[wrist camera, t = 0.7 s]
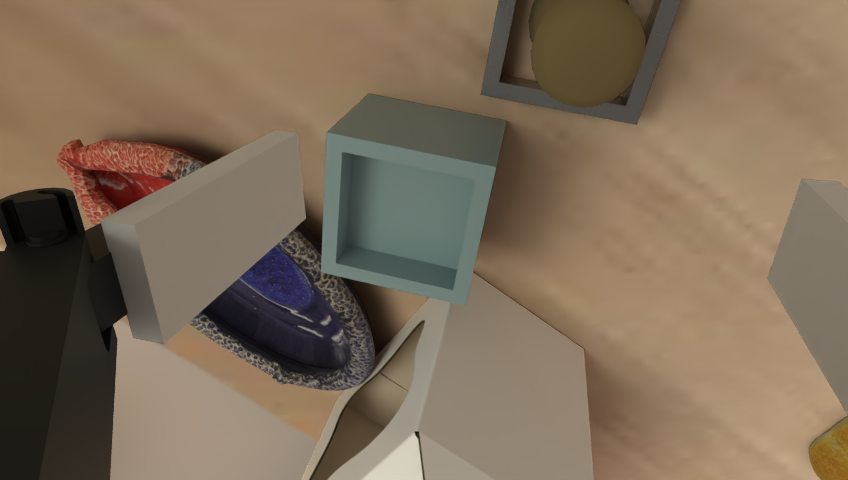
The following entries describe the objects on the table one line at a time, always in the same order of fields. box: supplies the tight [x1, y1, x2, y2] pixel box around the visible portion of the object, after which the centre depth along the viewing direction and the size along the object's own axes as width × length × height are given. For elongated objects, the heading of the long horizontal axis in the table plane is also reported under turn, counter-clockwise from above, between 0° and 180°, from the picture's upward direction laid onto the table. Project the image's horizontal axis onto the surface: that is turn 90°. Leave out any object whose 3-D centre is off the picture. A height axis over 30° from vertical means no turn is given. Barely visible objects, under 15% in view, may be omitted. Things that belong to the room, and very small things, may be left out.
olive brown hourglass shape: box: [529, 0, 645, 108], centre depth 29 cm, size 6×6×11 cm
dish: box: [57, 139, 375, 391], centre depth 46 cm, size 16×31×5 cm, turn 46°
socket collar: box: [481, 0, 681, 125], centre depth 33 cm, size 10×10×2 cm
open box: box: [321, 94, 507, 306], centre depth 37 cm, size 10×10×8 cm
